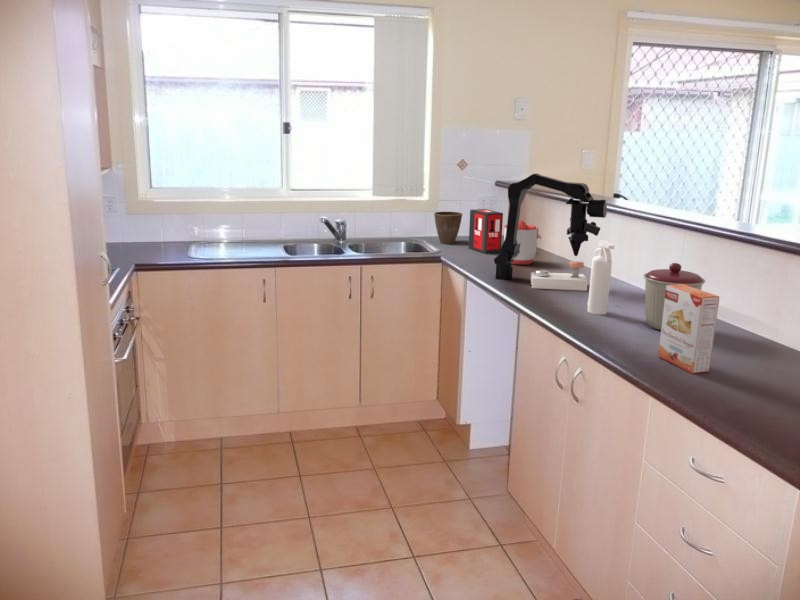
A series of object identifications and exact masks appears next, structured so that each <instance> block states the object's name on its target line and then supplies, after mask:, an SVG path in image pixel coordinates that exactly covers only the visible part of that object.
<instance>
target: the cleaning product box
mask: <svg viewBox="0 0 800 600" xmlns="http://www.w3.org/2000/svg"><path fill="white" fill-rule="evenodd" d="M503 218H504V212H499V211H495V210H490V209H486V208H484V209H483V208H481V209H470V210H469V232H468V249H469V250H472V251H475V252H477V253H481V254H483V255H492V254H495V255H496V254H500V250H501V247H502V238H503V237H502V236H503V223H504V222H503V221H504V219H503Z"/></svg>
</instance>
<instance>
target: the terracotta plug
mask: <svg viewBox="0 0 800 600" xmlns="http://www.w3.org/2000/svg"><path fill="white" fill-rule="evenodd" d="M584 264H585V263H584V262H583V261H577V260H572V261H571V260H570V261H568V267H570V268H572V273H571V274H572V276H579V274H580V269H582V268H584V266H585V265H584Z"/></svg>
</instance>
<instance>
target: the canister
mask: <svg viewBox="0 0 800 600" xmlns="http://www.w3.org/2000/svg"><path fill="white" fill-rule="evenodd" d="M668 267H669V269H668V268H667V269H666V268H660V269H659V268H658V269H652V270H650V271H649V272H645V273H644V274H643V278H644V279H645V281H644V282H645V284H644V287H645V318H646V323H647V325H649V326H650V327H651V328H653V329H655V330H659V331H661V328H662V319H663V311H664V302H665V293H666V286H667V285H677V284H684V285H687V286H690V287H693V288H696V289H699V290H702V287H703V285H704V284H705V283H706V280H705V279H704V278H703V277H702V276H700V275H699V274H698V273H695V272H691V271H686V270H682V265H681V264H680V263H677V262H673V263H671V264H669V266H668Z"/></svg>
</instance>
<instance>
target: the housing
mask: <svg viewBox="0 0 800 600" xmlns="http://www.w3.org/2000/svg"><path fill="white" fill-rule="evenodd" d="M529 282H530V285H532V286H531V289H545V290H546V289H547V290H565V291H566V290H567V291H584V292H585V291H587V290H588V279H587V277H586V275H585V274H584V273H579V276H572V273H569V272H568V273H567V272H566V273H564V272H561V273H559V272H549V276H547V277H540V276H536V275H535V271H531V272H530V281H529Z"/></svg>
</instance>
